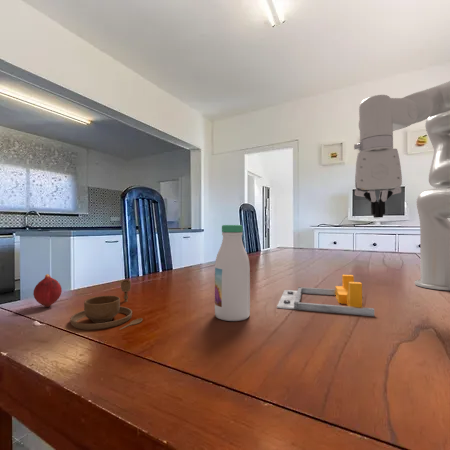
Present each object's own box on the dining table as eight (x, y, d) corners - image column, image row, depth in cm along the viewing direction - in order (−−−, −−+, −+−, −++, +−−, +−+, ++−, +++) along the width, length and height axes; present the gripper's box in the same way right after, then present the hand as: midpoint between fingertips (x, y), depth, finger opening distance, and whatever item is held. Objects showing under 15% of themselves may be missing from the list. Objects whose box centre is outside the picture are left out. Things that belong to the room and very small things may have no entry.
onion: (66, 305, 70) (66, 273, 70) (43, 311, 65) (43, 277, 65) (51, 302, 72) (51, 271, 72) (28, 308, 67) (28, 275, 67)
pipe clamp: (335, 297, 77) (335, 274, 77) (352, 298, 76) (352, 274, 76) (342, 310, 66) (341, 282, 66) (362, 311, 65) (362, 283, 65)
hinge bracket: (284, 291, 84) (284, 286, 84) (361, 296, 78) (361, 291, 78) (276, 307, 67) (276, 301, 67) (374, 316, 61) (374, 309, 61)
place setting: (48, 324, 58) (48, 295, 58) (124, 301, 76) (124, 279, 76) (105, 340, 50) (105, 307, 50) (176, 310, 67) (176, 286, 67)
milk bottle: (253, 312, 64) (253, 224, 64) (244, 323, 56) (244, 224, 56) (221, 309, 66) (221, 224, 66) (209, 319, 59) (209, 224, 59)
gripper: (346, 146, 71) (348, 218, 71) (414, 139, 67) (416, 216, 67) (343, 152, 78) (345, 218, 79) (404, 146, 74) (406, 216, 74)
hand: (378, 217), depth 73 cm, fingers closed
